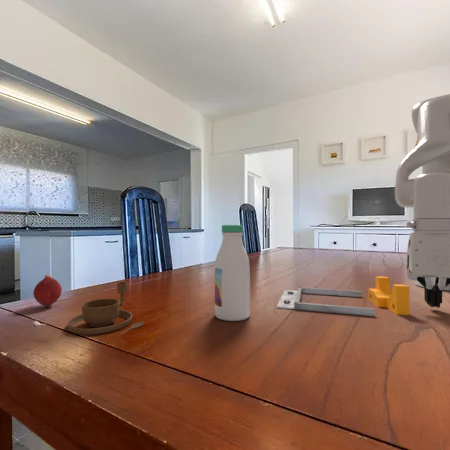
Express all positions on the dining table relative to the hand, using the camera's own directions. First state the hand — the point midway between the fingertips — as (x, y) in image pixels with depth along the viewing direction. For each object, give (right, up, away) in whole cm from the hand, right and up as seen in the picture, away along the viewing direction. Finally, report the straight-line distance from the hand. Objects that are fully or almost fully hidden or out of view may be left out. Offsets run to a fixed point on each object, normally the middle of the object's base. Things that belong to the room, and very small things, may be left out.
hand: (433, 305), depth 65 cm
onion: (-92, -2, +3) cm, 92 cm away
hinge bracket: (-23, -1, +8) cm, 24 cm away
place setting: (-72, -2, -5) cm, 72 cm away
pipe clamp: (-9, -2, +3) cm, 10 cm away
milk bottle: (-47, -1, -4) cm, 47 cm away
